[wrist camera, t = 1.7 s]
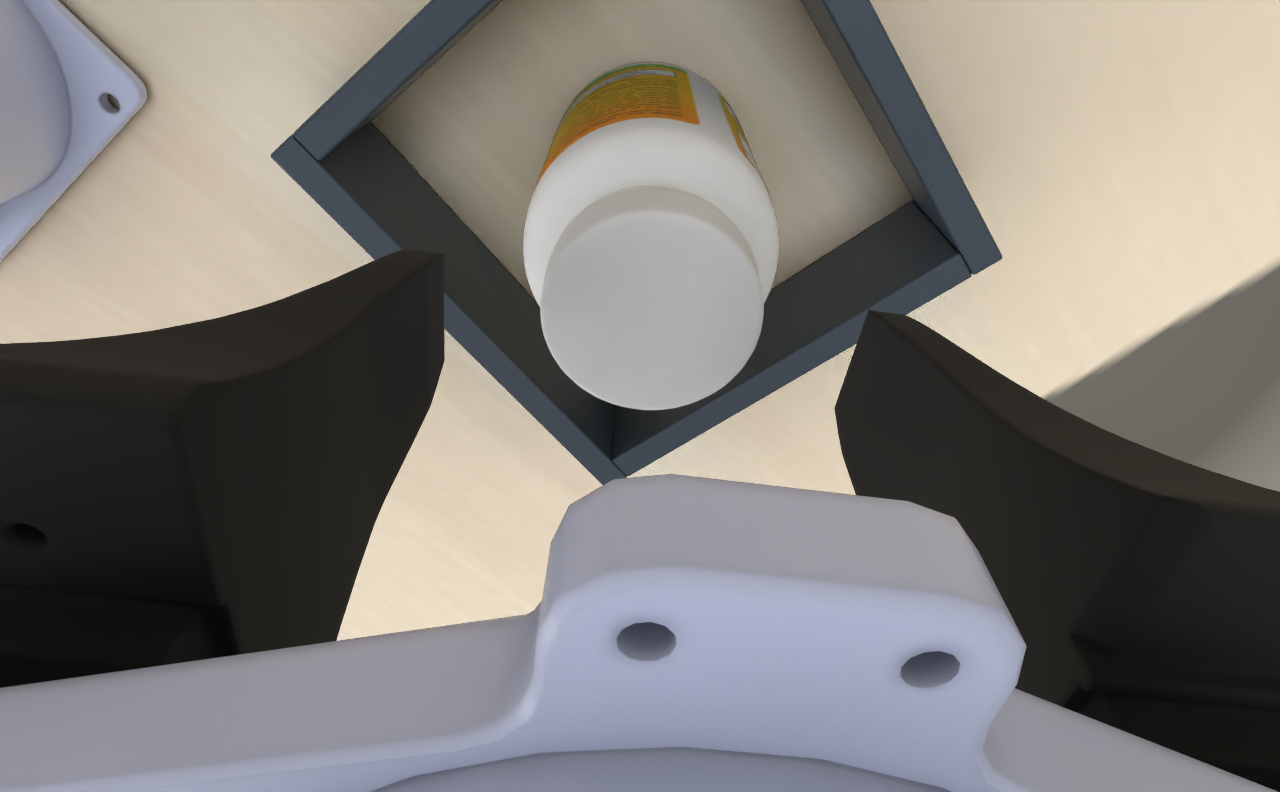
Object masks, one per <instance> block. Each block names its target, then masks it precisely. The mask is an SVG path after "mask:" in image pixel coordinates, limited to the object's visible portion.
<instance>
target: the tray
mask: <svg viewBox="0 0 1280 792" xmlns="http://www.w3.org/2000/svg"><path fill="white" fill-rule="evenodd" d="M501 1H502V0H431V1H430V2H429V3H428V4H427V5H426V6H425V7H424V8H423V9H422V10H421V11H420V12H419V13H418V14H417V15H416V16H415V17H414V18H413V19H412V20H410V21H409V22H408V23H407V24H406V25H405V26H404V27H403V28H402V29H401V30H400V31H399V32H398V33H397V34H396V35H395V36H394V37H393V38H392V39H391V40H390V41H389V42H388V43H387V44H385V45H384V46H383V47H382V48H381V49H380V50H379V51H378V52H377V53H376V54H375V55H374V56H373V57H372V58H371V59H370V60H369V61H368V62H367V63H366V64H365V65H364V66H363V67H362V68H361V69H359V70H358V71H357V72H356V73H355V74H354V75H353V76H352V77H351V78H350V79H349V80H348V81H347V82H346V83H345V84H344V85H343V86H342V87H341V88H340V89H339V90H338V91H337V92H336V93H335V94H333V95H332V96H331V97H330V98H329V99H328V100H327V101H326V102H325V103H324V104H323V105H322V106H321V107H320V108H319V109H318V110H317V111H316V112H315V113H314V114H313V115H312V116H311V117H310V118H309V119H307V120H306V121H305V122H304V123H303V124H302V125H301V126H300V127H299V128H298V129H297V130H296V131H295V133H294V134H293V135H291V136H290V137H289V138H288V139H287V140H286V141H284V142H283V143H282V144H281V145H280V146H279V147H278V148H277V149H276V150H275V151H274V152H273V153H272V154H271V158H272V159H273V160H274V161H275V162H276V163H277V164H278V165H279V166H280V167H281V168H282V169H283V170H284V171H285V172H286V173H287V174H288V175H289V176H290V177H291V178H292V179H294V180H295V181H296V182H297V183H298V184H299V185H300V186H301V187H302V188H303V189H304V190H305V191H306V192H307V193H308V194H309V195H310V196H311V197H312V198H313V199H314V200H315V201H316V202H317V203H318V204H319V205H320V206H321V207H322V208H323V209H324V210H325V211H326V212H327V213H328V214H329V215H330V216H331V217H332V218H333V219H334V220H335V221H336V222H337V223H338V224H339V225H340V226H341V227H342V228H343V229H344V230H345V231H346V232H347V233H348V234H349V235H350V236H351V237H352V238H353V239H354V240H355V241H356V242H357V243H358V244H359V245H360V246H361V247H362V248H363V249H364V250H365V251H366V252H367V253H368V254H369V255H370V256H371V257H372V258H373V259H375V260H377V259H379V258H381V257H384V256H386V255H388V254H391V253H393V252H396V251H399V250H403V249H413V250H421V251H428V252H436V253H444V329H445V330H446V331H447V332H448V333H449V334H450V335H451V336H452V337H453V338H455V339H456V340H457V341H458V342H459V343H460V344H461V345H462V346H463V347H464V348H465V349H466V350H467V351H468V352H469V353H470V354H471V355H472V356H473V357H474V358H475V359H476V360H477V361H478V362H479V363H480V364H481V365H482V366H483V367H484V368H485V369H486V370H487V371H488V372H489V373H490V374H491V375H492V376H493V377H494V378H495V379H496V380H497V381H498V382H499V383H500V384H501V385H502V386H503V387H504V388H505V389H506V390H507V391H508V392H509V393H510V394H511V395H512V396H513V397H514V398H515V399H516V400H517V401H518V402H519V403H520V404H521V405H522V406H523V407H524V408H525V409H526V410H527V411H528V412H529V413H530V414H531V415H532V416H533V417H534V418H536V419H537V420H538V421H539V422H540V423H541V424H542V425H543V426H544V427H545V428H546V429H547V430H548V431H549V432H550V433H551V434H552V435H553V436H554V437H555V438H556V439H557V440H558V441H559V442H560V443H561V444H562V445H563V446H564V447H565V448H566V449H567V450H568V451H569V452H570V453H571V454H572V455H573V456H574V457H575V458H576V459H577V460H578V461H579V462H580V463H581V464H582V465H583V466H584V467H585V468H586V469H587V470H588V471H589V472H590V473H591V474H592V475H593V476H594V477H595V478H596V479H597V480H598V481H599V482H600V483H601V484H602V485H605V484H606V483H608V482H610V481H612V480H613V479H622V478H626V477H627V476H630V475H631V474H633V473H635V472H637V471H638V470H640V469H642V468H643V467H645V466H647V465H649V464H650V463H652V462H654V461H655V460H657V459H659V458H661V457H662V456H664V455H666V454H668V453H669V452H671V451H673V450H674V449H676V448H678V447H680V446H681V445H683V444H685V443H686V442H688V441H690V440H692V439H693V438H695V437H697V436H698V435H700V434H702V433H704V432H705V431H707V430H709V429H710V428H712V427H714V426H716V425H717V424H719V423H721V422H722V421H724V420H726V419H728V418H729V417H731V416H733V415H734V414H736V413H738V412H740V411H741V410H743V409H745V408H747V407H748V406H750V405H752V404H753V403H755V402H757V401H759V400H760V399H762V398H764V397H765V396H767V395H769V394H771V393H772V392H774V391H776V390H777V389H779V388H781V387H783V386H784V385H786V384H788V383H789V382H791V381H793V380H795V379H796V378H798V377H800V376H801V375H803V374H805V373H807V372H808V371H810V370H812V369H813V368H815V367H817V366H819V365H820V364H822V363H824V362H826V361H827V360H829V359H831V358H832V357H834V356H836V355H838V354H839V353H841V352H843V351H844V350H846V349H848V348H850V347H851V346H853V345H855V344H856V343H857V342H858V339H859V336H860V333H861V330H862V327H863V324H864V321H865V319H866V316H867V313H868V310H873V311H881V312H888V313H896V314H903V315H906V314H908V313H910V312H911V311H913V310H915V309H917V308H918V307H920V306H922V305H923V304H925V303H927V302H929V301H930V300H932V299H934V298H935V297H937V296H939V295H941V294H942V293H944V292H946V291H947V290H949V289H951V288H953V287H954V286H956V285H958V284H959V283H961V282H963V281H965V280H966V279H968V278H970V277H971V273H972V274H977V273H978V272H980V271H982V270H984V269H985V268H987V267H989V266H990V265H992V264H994V263H996V262H997V261H999V260H1001V259H1002V255H1001V253H1000V251H999V249H998V247H997V245H996V243H995V241H994V239H993V237H992V235H991V233H990V232H989V230H988V228H987V226H986V224H985V222H984V220H983V218H982V216H981V214H980V212H979V210H978V208H977V206H976V205H975V203H974V201H973V199H972V197H971V195H970V193H969V191H968V189H967V187H966V185H965V183H964V181H963V179H962V178H961V176H960V174H959V172H958V170H957V168H956V166H955V164H954V162H953V160H952V158H951V156H950V154H949V153H948V151H947V149H946V147H945V145H944V143H943V141H942V139H941V137H940V135H939V133H938V131H937V129H936V127H935V126H934V124H933V122H932V120H931V118H930V116H929V114H928V112H927V110H926V108H925V106H924V104H923V102H922V100H921V99H920V97H919V95H918V93H917V91H916V89H915V87H914V85H913V83H912V81H911V79H910V77H909V75H908V73H907V72H906V70H905V68H904V66H903V64H902V62H901V60H900V58H899V56H898V54H897V52H896V50H895V48H894V47H893V45H892V43H891V41H890V39H889V37H888V35H887V33H886V31H885V29H884V27H883V25H882V23H881V21H880V20H879V18H878V16H877V14H876V12H875V10H874V8H873V6H872V4H871V2H870V0H801V2H802V3H803V5H804V7H805V9H806V10H807V12H808V14H809V16H810V18H811V19H812V21H813V23H814V25H815V26H816V28H817V30H818V32H819V33H820V35H821V37H822V39H823V41H824V42H825V44H826V46H827V48H828V49H829V51H830V53H831V55H832V57H833V58H834V60H835V62H836V64H837V65H838V67H839V69H840V71H841V73H842V74H843V76H844V78H845V80H846V81H847V83H848V85H849V87H850V88H851V90H852V92H853V94H854V96H855V97H856V99H857V101H858V103H859V104H860V106H861V108H862V110H863V112H864V113H865V115H866V117H867V119H868V120H869V122H870V124H871V126H872V128H873V129H874V131H875V133H876V135H877V136H878V138H879V140H880V142H881V143H882V145H883V147H884V149H885V151H886V152H887V154H888V156H889V158H890V159H891V161H892V163H893V165H894V167H895V168H896V170H897V172H898V174H899V175H900V177H901V179H902V181H903V183H904V184H905V186H906V188H907V190H908V191H909V193H910V195H911V197H912V198H913V200H914V201H910V202H909V203H907V204H906V205H904V206H903V207H901V208H899V209H898V210H896V211H895V212H893V213H892V214H890V215H888V216H887V217H885V218H884V219H882V220H881V221H879V222H877V223H876V224H874V225H873V226H871V227H870V228H868V229H866V230H865V231H863V232H862V233H860V234H859V235H857V236H856V237H854V238H852V239H851V240H849V241H848V242H846V243H845V244H843V245H841V246H840V247H838V248H837V249H835V250H834V251H832V252H830V253H829V254H827V255H826V256H824V257H823V258H821V259H819V260H818V261H816V262H815V263H813V264H812V265H810V266H808V267H807V268H805V269H804V270H802V271H801V272H799V273H797V274H796V275H794V276H793V277H791V278H790V279H788V280H786V281H785V282H783V283H782V284H780V285H779V286H777V287H775V288H774V289H772V290H771V291H770V292H769V294H768V297H767V299H766V301H765V303H764V315H763V323H762V328H761V333H760V336H759V339H758V342H757V344H756V347H755V349H754V351H753V353H752V354H751V356H750V358H749V359H748V361H747V362H746V364H745V365H744V367H743V368H742V369H741V371H740V372H739V373H738V374H737V375H736V376H735V377H734V378H733V379H732V380H731V381H730V382H729V383H727V384H726V385H725V386H724V387H722V388H721V389H719V390H718V391H716V392H715V393H713V394H711V395H709V396H708V397H705V398H703V399H701V400H699V401H696V402H694V403H691V404H688V405H685V406H681V407H677V408H672V409H664V410H640V409H632V408H626V407H622V406H618V405H615V404H612V403H609V402H606V401H604V400H602V399H599V398H597V397H595V396H593V395H592V394H590V393H589V392H587V391H585V390H584V389H582V388H581V387H579V386H578V385H577V384H576V383H575V382H574V381H573V380H572V379H571V378H569V377H568V376H567V375H566V374H565V373H564V371H563V370H562V369H561V368H560V366H559V365H558V363H557V362H556V360H555V359H554V357H553V356H552V354H551V352H550V350H549V348H548V345H547V343H546V340H545V338H544V334H543V330H542V325H541V317H540V307H539V305H538V304H537V303H536V302H535V300H534V299H533V298H532V297H531V296H530V295H529V294H528V293H527V292H526V291H525V290H524V288H523V287H522V286H521V285H520V284H519V283H518V282H517V281H516V280H515V279H514V277H513V276H512V275H511V274H510V273H509V272H508V271H507V270H506V269H505V268H504V267H503V265H502V264H501V263H500V262H499V261H498V260H497V259H496V258H495V257H494V256H493V255H492V253H491V252H490V251H489V250H488V249H487V248H486V247H485V246H484V245H483V244H482V243H481V241H480V240H479V239H478V238H477V237H476V236H475V235H474V234H473V233H472V232H471V231H470V229H469V228H468V227H467V226H466V225H465V224H464V223H463V222H462V221H461V220H460V219H459V217H458V216H457V215H456V214H455V213H454V212H453V211H452V210H451V209H450V208H449V207H448V205H447V204H446V203H445V202H444V201H443V200H442V199H441V198H440V197H439V196H438V195H437V193H436V192H435V191H434V190H433V189H432V188H431V187H430V186H429V185H428V184H427V183H426V181H425V180H424V179H423V178H422V177H421V176H420V175H419V174H418V173H417V172H416V171H415V169H414V168H413V167H412V166H411V165H410V164H409V163H408V162H407V161H406V160H405V159H404V157H403V156H402V155H401V154H400V153H399V152H398V151H397V150H396V149H395V148H394V147H393V145H392V144H391V143H390V142H389V141H388V140H387V139H386V138H385V137H384V136H383V135H382V133H381V132H380V131H379V130H378V129H377V128H376V127H375V126H374V125H373V124H372V123H371V121H372V120H373V119H374V118H375V117H376V116H377V115H378V114H380V113H381V112H382V111H383V110H384V109H385V108H386V107H387V106H388V105H389V104H390V103H391V102H393V101H394V100H395V99H396V98H397V97H398V96H399V95H400V94H401V93H402V92H403V91H405V90H406V89H407V88H408V87H409V86H410V85H411V84H412V83H413V82H414V81H415V80H417V79H418V78H419V77H420V76H421V75H422V74H423V73H424V72H425V71H426V70H427V69H428V68H430V67H431V66H432V65H433V64H434V63H435V62H436V61H437V60H438V59H439V58H440V57H442V56H443V55H444V54H445V53H446V52H447V51H448V50H449V49H450V48H451V47H452V46H453V45H455V44H456V43H457V42H458V41H459V40H460V39H461V38H462V37H463V36H464V35H465V34H467V33H468V32H469V31H470V30H471V29H472V28H473V27H474V26H475V25H476V24H477V23H478V22H480V21H481V20H482V19H483V18H484V17H485V16H486V15H487V14H488V13H489V12H490V11H492V10H493V9H494V8H495V7H496V6H497V5H498V4H499V3H500V2H501Z"/></svg>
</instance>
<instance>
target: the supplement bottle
mask: <svg viewBox="0 0 1280 792" xmlns="http://www.w3.org/2000/svg"><path fill="white" fill-rule="evenodd" d="M523 255H524V264H525V271H526V275H527V278H528V282H529V285H530V288H531V290H532V292H533V295H534V297H535V299H536V301H537V303H538V305H539V307H540V317H541V325H542V330H543V334H544V338H545V340H546V343H547V345H548V348H549V350H550V352H551V354H552V356H553V357H554V359H555V360H556V362H557V363H558V365H559V366H560V368H561V369H562V370H563V371H564V373H565V374H566V375H567V376H568V377H569V378H571V379H572V380H573V381H574V382H575V383H576V384H577V385H578V386H579V387H581V388H582V389H584V390H585V391H587V392H589V393H590V394H592V395H593V396H595V397H597V398H599V399H602V400H604V401H606V402H609V403H612V404H615V405H618V406H622V407H626V408H632V409H640V410H664V409H672V408H677V407H681V406H685V405H688V404H691V403H694V402H696V401H699V400H701V399H703V398H705V397H708V396H709V395H711V394H713V393H715V392H716V391H718V390H719V389H721V388H722V387H724V386H725V385H726V384H727V383H729V382H730V381H731V380H732V379H733V378H734V377H735V376H736V375H737V374H738V373H739V372H740V371H741V369H742V368H743V367H744V365H745V364H746V362H747V361H748V359H749V358H750V356H751V354H752V353H753V351H754V349H755V347H756V344H757V342H758V339H759V336H760V333H761V328H762V323H763V315H764V303H765V301H766V299H767V297H768V294H769V292H770V290H771V287H772V284H773V281H774V277H775V273H776V269H777V263H778V257H779V233H778V225H777V219H776V215H775V211H774V208H773V204H772V200H771V197H770V195H769V192H768V189H767V187H766V185H765V183H764V180H763V178H762V176H761V174H760V171H759V169H758V167H757V164H756V162H755V159H754V157H753V155H752V152H751V150H750V147H749V145H748V142H747V140H746V138H745V135H744V133H743V130H742V128H741V126H740V123H739V121H738V119H737V117H736V115H735V114H734V112H733V110H732V109H731V107H730V106H729V104H728V103H727V101H726V100H725V99H724V97H723V96H722V95H721V94H720V93H719V92H718V91H717V90H716V89H715V88H714V87H713V86H712V85H711V84H710V83H708V82H707V81H706V80H705V79H703V78H701V77H700V76H698V75H696V74H695V73H693V72H691V71H689V70H686V69H684V68H681V67H678V66H674V65H670V64H664V63H656V62H644V63H635V64H629V65H624V66H621V67H618V68H616V69H613V70H611V71H608V72H606V73H604V74H603V75H601V76H599V77H598V78H596V79H595V80H593V81H592V82H591V83H589V84H588V85H587V86H586V87H585V88H584V89H583V90H582V91H581V92H580V93H579V94H578V95H577V97H576V98H575V99H574V100H573V102H572V103H571V104H570V106H569V108H568V109H567V111H566V112H565V114H564V116H563V118H562V120H561V122H560V124H559V126H558V128H557V131H556V133H555V136H554V139H553V141H552V145H551V147H550V150H549V153H548V155H547V158H546V161H545V163H544V166H543V169H542V171H541V174H540V177H539V179H538V182H537V185H536V188H535V190H534V193H533V195H532V198H531V201H530V204H529V207H528V212H527V216H526V221H525V228H524V239H523Z"/></svg>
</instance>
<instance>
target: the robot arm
mask: <svg viewBox="0 0 1280 792" xmlns="http://www.w3.org/2000/svg"><path fill="white" fill-rule="evenodd" d="M108 93H109V94H111V95H113V96H114V97H115V98H116V99H117V100H118V102H119V105H120V109H119V110H118V109H116V108H114V107H113V106H112V105H111V104H110V102H109V100H108ZM146 100H147V90H146V88H145V85H144V83H143V82H142V81H141V80H140V78H139V77H138V76H137V75H136V74H135V73H134V72H133V71H132V70H131V69H130V68H129V67H128V66H126V65H125V64H124V63H123V62H122V61H121V60H120V59H119V58H118V57H117V56H116V55H115V54H114V53H113V52H112V51H111V50H110V49H109V48H108V47H107V46H106V45H104V44H103V43H102V42H101V41H100V40H99V39H98V38H97V37H96V36H95V35H94V34H93V33H92V32H91V31H90V30H89V29H88V28H87V27H86V26H85V25H84V24H82V23H81V22H80V21H79V20H78V19H77V18H76V17H75V16H74V15H73V14H72V13H71V12H70V11H69V10H68V9H67V8H66V7H65V6H64V5H63V4H62V3H60V2H59V1H58V0H0V262H1V261H2V260H3V259H4V258H5V257H6V256H7V254H8V253H9V252H10V251H11V250H12V249H13V248H14V247H15V246H16V245H17V243H18V242H19V241H20V240H21V239H22V238H23V237H24V236H25V235H26V234H27V232H28V231H29V230H30V229H31V228H32V227H33V226H34V225H35V224H36V223H37V222H38V220H39V219H40V218H41V217H42V216H43V215H44V214H45V213H46V212H47V211H48V209H49V208H50V207H51V206H52V205H53V204H54V203H55V202H56V201H57V200H58V198H59V197H60V196H61V195H62V194H63V193H64V192H65V191H66V190H67V189H68V187H69V186H70V185H71V184H72V183H73V182H74V181H75V180H76V179H77V178H78V177H79V175H80V174H81V173H82V172H83V171H84V170H85V169H86V168H87V167H88V166H89V164H90V163H91V162H92V161H93V160H94V159H95V158H96V157H97V156H98V155H99V153H100V152H101V151H102V150H103V149H104V148H105V147H106V146H107V145H108V144H109V143H110V141H111V140H112V139H113V138H114V137H115V136H116V135H117V134H118V133H119V132H120V130H121V129H122V128H123V127H124V126H125V125H126V124H127V123H128V122H129V121H130V119H131V118H132V117H133V116H134V115H135V114H136V113H137V112H138V111H139V110H140V109H141V107H142V106H143V105H144V104H145V102H146ZM443 363H444V253H436V252H428V251H421V250H413V249H403V250H399V251H396V252H393V253H391V254H388V255H386V256H384V257H381V258H379V259H377V260H375V261H372V262H370V263H368V264H366V265H364V266H361V267H359V268H357V269H355V270H352V271H350V272H348V273H346V274H343V275H341V276H339V277H337V278H335V279H332V280H330V281H328V282H325V283H322V284H320V285H317V286H315V287H312V288H310V289H307V290H304V291H302V292H299V293H297V294H294V295H292V296H289V297H286V298H284V299H281V300H278V301H275V302H272V303H269V304H266V305H263V306H260V307H257V308H253V309H250V310H246V311H242V312H239V313H235V314H231V315H228V316H224V317H220V318H216V319H211V320H206V321H201V322H196V323H191V324H185V325H180V326H175V327H170V328H165V329H160V330H154V331H148V332H141V333H133V334H126V335H118V336H110V337H100V338H90V339H80V340H69V341H56V342H36V343H11V344H0V792H1280V492H1278V491H1274V490H1270V489H1266V488H1263V487H1260V486H1256V485H1252V484H1249V483H1246V482H1243V481H1240V480H1237V479H1234V478H1231V477H1228V476H1225V475H1222V474H1218V473H1215V472H1212V471H1209V470H1206V469H1203V468H1200V467H1197V466H1194V465H1192V464H1189V463H1186V462H1183V461H1180V460H1177V459H1175V458H1172V457H1169V456H1167V455H1164V454H1161V453H1159V452H1157V451H1154V450H1152V449H1149V448H1146V447H1144V446H1142V445H1139V444H1137V443H1134V442H1132V441H1129V440H1127V439H1124V438H1122V437H1120V436H1118V435H1115V434H1113V433H1111V432H1108V431H1106V430H1104V429H1102V428H1100V427H1098V426H1095V425H1093V424H1091V423H1089V422H1087V421H1085V420H1083V419H1081V418H1079V417H1077V416H1075V415H1073V414H1071V413H1069V412H1067V411H1065V410H1063V409H1061V408H1059V407H1057V406H1055V405H1053V404H1052V403H1050V402H1048V401H1046V400H1044V399H1042V398H1041V397H1039V396H1037V395H1036V394H1034V393H1032V392H1030V391H1029V390H1027V389H1025V388H1024V387H1022V386H1020V385H1018V384H1017V383H1015V382H1013V381H1012V380H1010V379H1008V378H1007V377H1005V376H1004V375H1002V374H1000V373H999V372H997V371H996V370H994V369H992V368H991V367H989V366H988V365H986V364H985V363H983V362H981V361H980V360H978V359H977V358H975V357H974V356H972V355H971V354H969V353H968V352H966V351H965V350H963V349H962V348H960V347H959V346H957V345H955V344H954V343H952V342H951V341H949V340H948V339H946V338H945V337H943V336H942V335H940V334H939V333H937V332H935V331H934V330H932V329H930V328H929V327H927V326H925V325H924V324H922V323H920V322H918V321H916V320H915V319H913V318H910V317H908V316H906V315H903V314H896V313H888V312H881V311H873V310H868V313H867V316H866V319H865V321H864V324H863V327H862V330H861V333H860V336H859V339H858V342H857V345H856V348H855V350H854V353H853V356H852V359H851V362H850V365H849V368H848V371H847V374H846V376H845V379H844V382H843V385H842V388H841V391H840V394H839V397H838V400H837V402H836V405H835V414H836V421H837V428H838V434H839V439H840V445H841V450H842V455H843V458H844V461H845V464H846V467H847V470H848V473H849V476H850V479H851V482H852V484H853V487H854V490H855V493H856V495H850V494H841V493H832V492H823V491H815V490H806V489H797V488H788V487H780V486H771V485H762V484H754V483H745V482H736V481H727V480H719V479H710V478H701V477H692V476H684V475H675V474H667V475H655V476H644V477H633V478H622V479H613V480H612V481H610V482H608V483H606V484H605V485H603V486H601V487H600V488H598V489H596V490H594V491H593V492H591V493H589V494H588V495H586V496H584V497H583V498H581V499H579V500H577V501H576V502H574V503H572V504H571V505H569V507H568V509H567V511H566V513H565V515H564V517H563V519H562V521H561V523H560V525H559V527H558V529H557V531H556V533H555V535H554V537H553V539H552V541H551V545H550V552H549V559H548V565H547V572H546V579H545V585H544V592H543V598H542V601H541V602H540V604H539V605H538V606H537V608H536V609H535V610H534V611H532V612H530V613H528V614H526V615H519V616H512V617H505V618H498V619H490V620H483V621H476V622H469V623H462V624H455V625H447V626H440V627H433V628H426V629H419V630H412V631H405V632H397V633H390V634H383V635H376V636H369V637H362V638H354V639H347V640H340V641H336V640H337V636H338V633H339V630H340V626H341V623H342V620H343V617H344V614H345V611H346V607H347V604H348V601H349V598H350V595H351V592H352V589H353V586H354V583H355V579H356V576H357V573H358V570H359V567H360V564H361V561H362V559H363V556H364V553H365V550H366V547H367V544H368V541H369V538H370V535H371V532H372V530H373V527H374V524H375V521H376V519H377V517H378V514H379V512H380V509H381V507H382V505H383V502H384V500H385V498H386V496H387V494H388V492H389V490H390V488H391V486H392V484H393V482H394V480H395V478H396V476H397V474H398V472H399V470H400V468H401V466H402V464H403V462H404V460H405V457H406V455H407V453H408V451H409V449H410V447H411V445H412V443H413V441H414V439H415V437H416V435H417V433H418V431H419V429H420V427H421V425H422V423H423V420H424V418H425V416H426V414H427V412H428V410H429V408H430V406H431V403H432V399H433V396H434V393H435V390H436V387H437V384H438V380H439V377H440V373H441V370H442V366H443Z"/></svg>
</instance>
